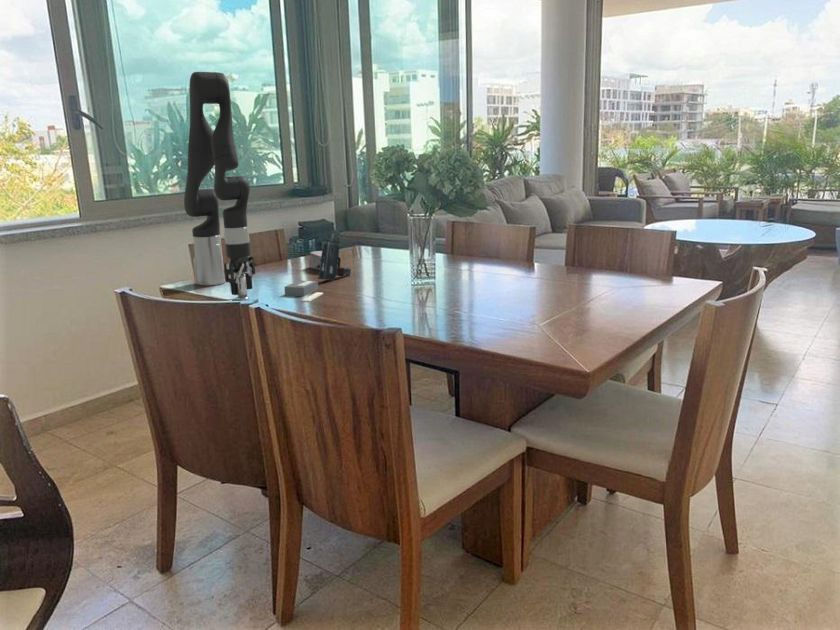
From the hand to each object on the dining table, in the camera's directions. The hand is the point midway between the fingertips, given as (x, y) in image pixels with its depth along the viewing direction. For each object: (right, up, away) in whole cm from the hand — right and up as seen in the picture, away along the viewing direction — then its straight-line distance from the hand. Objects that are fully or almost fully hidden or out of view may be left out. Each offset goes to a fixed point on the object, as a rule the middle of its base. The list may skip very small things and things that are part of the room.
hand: (242, 291), depth 207 cm
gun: (+26, +5, +28) cm, 39 cm away
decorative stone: (+19, +10, +47) cm, 52 cm away
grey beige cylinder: (0, -2, +1) cm, 2 cm away
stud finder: (+18, 0, +8) cm, 19 cm away
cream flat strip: (+23, -2, 0) cm, 23 cm away
